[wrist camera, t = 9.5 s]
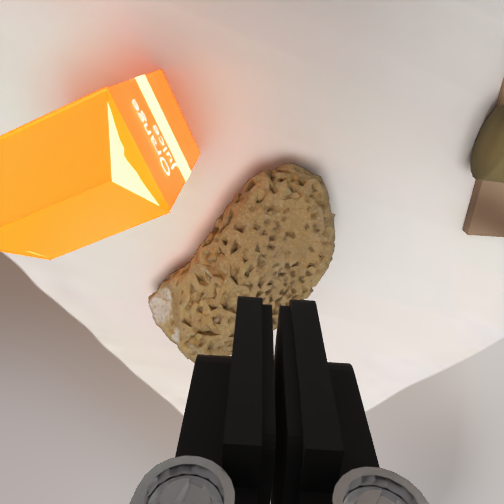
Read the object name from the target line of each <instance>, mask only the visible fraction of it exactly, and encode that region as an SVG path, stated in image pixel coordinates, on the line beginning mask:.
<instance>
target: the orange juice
mask: <svg viewBox="0 0 504 504" xmlns="http://www.w3.org/2000/svg"><path fill="white" fill-rule="evenodd" d="M199 155H200V151H199V149H198V147H197V145H196V143H195V141H194V138H193V136H192V134H191V132H190V130H189V128H188V125H187V123H186V121H185V119H184V117H183V115H182V113H181V110H180V108H179V106H178V104H177V102H176V100H175V97H174V95H173V93H172V91H171V89H170V87H169V84H168V82H167V80H166V78H165V76H164V74H163V72H162V69H160V70H157V71H154V72H151V73H148V74H143V75H141V76H138V77H135V78H133V79H130V80H128V81H125V82H122V83H119V84H116V85H113V86H110V87H108V88H107V86H106V87H104V88H102V89H100V90H97V91H95V92H93V93H91V94H89V95H87V96H85V97H82V98H80V99H78V100H76V101H74V102H72V103H70V104H67V105H65V106H63V107H61V108H59V109H57V110H55V111H52V112H50V113H48V114H46V115H44V116H42V117H40V118H37V119H35V120H33V121H31V122H29V123H27V124H25V125H22V126H20V127H18V128H16V129H14V130H12V131H10V132H7V133H5V134H3V135H1V136H0V251H1V252H7V253H13V254H19V255H25V256H30V257H36V258H42V259H48V260H51V259H54V258H56V257H59V256H61V255H64V254H66V253H69V252H71V251H74V250H76V249H79V248H81V247H84V246H87V245H89V244H92V243H94V242H97V241H99V240H102V239H104V238H107V237H109V236H112V235H114V234H117V233H119V232H122V231H124V230H127V229H129V228H132V227H134V226H137V225H139V224H142V223H144V222H147V221H149V220H152V219H154V218H157V217H159V216H162V215H165V214H167V213H170V210H171V208H172V206H173V204H174V202H175V200H176V198H177V197H178V195H179V193H180V191H181V189H182V187H183V185H184V183H185V182H186V181H187V179H188V177H189V176H190V174H191V170H192V168H193V166H194V165H195V163H196V161H197V159H198V157H199Z"/></svg>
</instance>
